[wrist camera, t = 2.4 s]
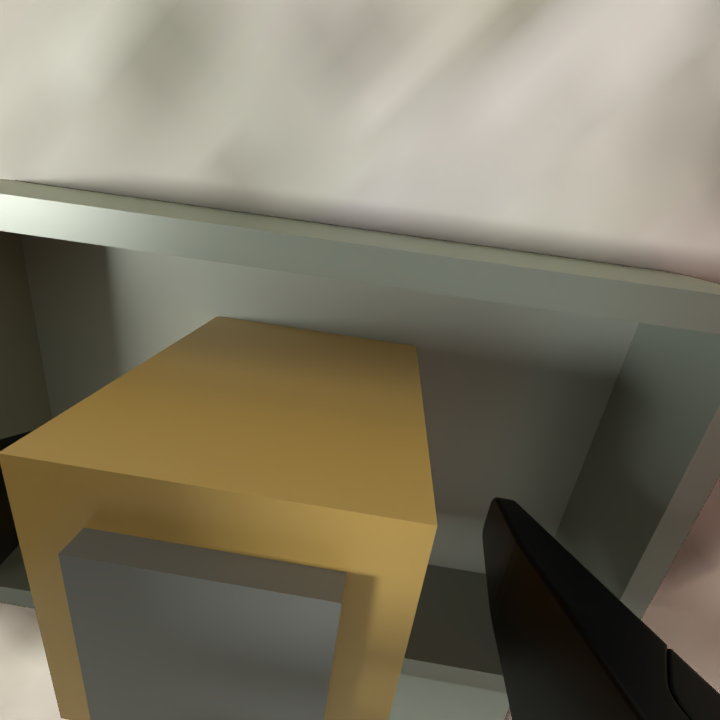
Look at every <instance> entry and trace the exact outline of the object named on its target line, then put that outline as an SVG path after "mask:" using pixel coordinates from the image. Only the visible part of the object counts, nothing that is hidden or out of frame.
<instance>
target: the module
mask: <svg viewBox="0 0 720 720" xmlns="http://www.w3.org/2000/svg"><path fill="white" fill-rule="evenodd" d="M0 465H1V469H2V473H3V477H4V482H5V486H6V490H7V494H8V498H9V502H10V507H11V511H12V515H13V519H14V523H15V528H16V532H17V536H18V540H19V544H20V548H21V553H22V557H23V561H24V565H25V569H26V574H27V578H28V582H29V586H30V590H31V594H32V599H33V603H34V607H35V611H36V615H37V620H38V624H39V628H40V632H41V636H42V640H43V645H44V649H45V653H46V657H47V661H48V665H49V670H50V674H51V678H52V682H53V686H54V691H55V695H56V699H57V703H58V707H59V711H60V716H61V718H63V719H69V720H389V716H390V712H391V708H392V704H393V700H394V696H395V692H396V688H397V684H398V680H399V676H400V672H401V668H402V664H403V660H404V656H405V652H406V648H407V645H408V641H409V637H410V633H411V629H412V625H413V621H414V617H415V613H416V609H417V605H418V601H419V597H420V593H421V589H422V585H423V581H424V577H425V573H426V569H427V565H428V561H429V557H430V554H431V550H432V546H433V542H434V538H435V534H436V530H437V526H438V525H437V517H436V509H435V500H434V492H433V484H432V475H431V467H430V459H429V450H428V442H427V433H426V425H425V417H424V408H423V400H422V392H421V383H420V375H419V367H418V358H417V350H416V346H414V345H407V344H400V343H393V342H387V341H380V340H373V339H367V338H360V337H353V336H346V335H340V334H333V333H326V332H320V331H313V330H306V329H299V328H293V327H286V326H279V325H273V324H266V323H259V322H252V321H246V320H239V319H232V318H226V317H219V316H217V317H215V318H214V319H212V320H211V321H209V322H207V323H206V324H204V325H203V326H201V327H199V328H198V329H196V330H195V331H193V332H191V333H190V334H188V335H186V336H185V337H183V338H182V339H180V340H178V341H177V342H175V343H174V344H172V345H170V346H169V347H167V348H166V349H164V350H162V351H161V352H159V353H158V354H156V355H154V356H153V357H151V358H150V359H148V360H146V361H145V362H143V363H142V364H140V365H138V366H137V367H135V368H133V369H132V370H130V371H129V372H127V373H125V374H124V375H122V376H121V377H119V378H117V379H116V380H114V381H113V382H111V383H109V384H108V385H106V386H105V387H103V388H101V389H100V390H98V391H97V392H95V393H93V394H92V395H90V396H89V397H87V398H85V399H84V400H82V401H80V402H79V403H77V404H76V405H74V406H72V407H71V408H69V409H68V410H66V411H64V412H63V413H61V414H60V415H58V416H56V417H55V418H53V419H52V420H50V421H48V422H47V423H45V424H44V425H42V426H40V427H39V428H37V429H36V430H34V431H32V432H31V433H29V434H27V435H26V436H24V437H23V438H21V439H19V440H18V441H16V442H15V443H13V444H11V445H10V446H8V447H7V448H5V449H3V450H2V451H0Z"/></svg>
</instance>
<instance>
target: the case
mask: <svg viewBox="0 0 720 720" xmlns="http://www.w3.org/2000/svg"><path fill="white" fill-rule="evenodd" d="M217 316H219V317H226V318H232V319H239V320H246V321H252V322H259V323H266V324H273V325H279V326H286V327H293V328H299V329H306V330H313V331H320V332H326V333H333V334H340V335H346V336H353V337H360V338H367V339H373V340H380V341H387V342H393V343H400V344H407V345H414V346H416V350H417V358H418V367H419V375H420V383H421V392H422V400H423V408H424V417H425V425H426V433H427V442H428V450H429V459H430V467H431V475H432V484H433V492H434V500H435V509H436V517H437V525H438V526H437V530H436V534H435V538H434V542H433V546H432V550H431V554H430V557H429V561H428V565H427V569H426V573H425V577H424V581H423V585H422V589H421V593H420V597H419V601H418V605H417V609H416V613H415V617H414V621H413V625H412V629H411V633H410V637H409V641H408V645H407V648H406V652H405V656H404V660H403V664H402V668H401V672H400V674H403V675H408V676H414V677H419V678H425V679H431V680H436V681H442V682H447V683H453V684H458V685H464V686H470V687H475V688H481V689H486V690H492V691H497V692H503V693H507V692H506V688H505V683H504V678H503V674H502V669H501V664H500V659H499V655H498V650H497V645H496V640H495V636H494V631H493V626H492V621H491V615H490V608H489V600H488V590H487V580H486V571H485V561H484V551H483V541H482V532H483V526H484V523H485V520H486V516H487V513H488V510H489V507H490V503H491V501H492V500H493V498H495V497H500V498H506V499H512V500H514V501H516V502H517V503H518V504H519V505H520V506H521V507H522V508H523V509H524V510H525V511H526V512H527V513H528V514H529V515H531V516H532V517H533V518H534V519H535V520H536V521H537V522H538V523H539V524H540V525H541V526H542V527H543V528H544V529H545V530H546V531H547V532H548V533H550V534H551V535H552V536H553V537H554V538H555V539H556V540H557V541H558V542H559V543H560V544H561V545H562V546H563V547H564V548H565V549H566V550H567V551H569V552H570V553H571V554H572V555H573V556H574V557H575V558H576V559H577V560H578V561H579V562H580V563H581V564H582V565H583V566H584V567H585V568H586V569H587V570H589V571H590V572H591V573H592V574H593V575H594V576H595V577H596V578H597V579H598V580H599V581H600V582H601V583H602V584H603V585H604V586H605V587H606V588H608V589H609V590H610V591H611V592H612V593H613V594H614V595H615V596H616V597H617V598H618V599H619V600H620V601H621V602H622V603H623V604H624V605H625V606H627V607H628V608H629V609H630V610H631V611H632V612H633V613H634V614H635V615H636V616H637V617H638V618H639V619H640V620H641V618H642V617H643V615H644V613H645V611H646V609H647V608H648V606H649V604H650V602H651V600H652V598H653V597H654V595H655V593H656V591H657V589H658V588H659V586H660V584H661V582H662V580H663V578H664V577H665V575H666V573H667V571H668V569H669V568H670V566H671V564H672V562H673V560H674V558H675V557H676V555H677V553H678V551H679V549H680V547H681V546H682V544H683V542H684V540H685V538H686V537H687V535H688V533H689V531H690V529H691V527H692V526H693V524H694V522H695V520H696V518H697V517H698V515H699V513H700V511H701V509H702V507H703V506H704V504H705V502H706V500H707V498H708V497H709V495H710V493H711V491H712V489H713V487H714V486H715V484H716V482H717V480H718V478H719V477H720V284H716V283H712V282H708V281H705V280H701V279H697V278H693V277H689V276H685V275H681V274H677V273H673V272H668V271H661V270H654V269H647V268H639V267H632V266H625V265H618V264H611V263H603V262H596V261H589V260H582V259H575V258H568V257H560V256H553V255H546V254H539V253H532V252H524V251H517V250H510V249H503V248H496V247H488V246H481V245H474V244H467V243H460V242H452V241H445V240H438V239H431V238H424V237H416V236H409V235H402V234H395V233H388V232H380V231H373V230H366V229H359V228H352V227H344V226H337V225H330V224H323V223H316V222H309V221H301V220H294V219H287V218H280V217H273V216H265V215H258V214H251V213H244V212H237V211H229V210H222V209H215V208H208V207H201V206H193V205H186V204H179V203H172V202H165V201H157V200H150V199H143V198H136V197H129V196H121V195H114V194H107V193H100V192H93V191H85V190H78V189H71V188H64V187H57V186H50V185H42V184H35V183H28V182H21V181H14V180H2V179H0V439H3V438H7V437H10V436H14V435H18V434H21V433H25V432H29V431H32V430H36V429H37V428H39V427H40V426H42V425H44V424H45V423H47V422H48V421H50V420H52V419H53V418H55V417H56V416H58V415H60V414H61V413H63V412H64V411H66V410H68V409H69V408H71V407H72V406H74V405H76V404H77V403H79V402H80V401H82V400H84V399H85V398H87V397H89V396H90V395H92V394H93V393H95V392H97V391H98V390H100V389H101V388H103V387H105V386H106V385H108V384H109V383H111V382H113V381H114V380H116V379H117V378H119V377H121V376H122V375H124V374H125V373H127V372H129V371H130V370H132V369H133V368H135V367H137V366H138V365H140V364H142V363H143V362H145V361H146V360H148V359H150V358H151V357H153V356H154V355H156V354H158V353H159V352H161V351H162V350H164V349H166V348H167V347H169V346H170V345H172V344H174V343H175V342H177V341H178V340H180V339H182V338H183V337H185V336H186V335H188V334H190V333H191V332H193V331H195V330H196V329H198V328H199V327H201V326H203V325H204V324H206V323H207V322H209V321H211V320H212V319H214V318H215V317H217ZM0 602H1V603H7V604H12V605H18V606H23V607H29V608H35V607H34V603H33V599H32V594H31V590H30V586H29V582H28V578H27V574H26V569H25V565H24V561H23V557H22V553H21V548H20V545H19V546H18V547H17V548H16V549H15V550H14V551H13V552H12V554H11V555H10V556H9V557H8V558H7V559H6V560H5V561H4V562H3V563H2V565H1V566H0Z"/></svg>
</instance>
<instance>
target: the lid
mask: <svg viewBox="0 0 720 720" xmlns="http://www.w3.org/2000/svg"><path fill="white" fill-rule="evenodd" d="M508 710H509V702H508V697H507V693H503V692H497V691H492V690H486V689H481V688H475V687H470V686H464V685H458V684H453V683H447V682H442V681H436V680H431V679H425V678H419V677H414V676H408V675H403V674H400V676H399V680H398V684H397V688H396V692H395V696H394V700H393V704H392V708H391V712H390V716H389V720H504V719H505V717H506V714H507V712H508Z"/></svg>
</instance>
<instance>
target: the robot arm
mask: <svg viewBox="0 0 720 720" xmlns="http://www.w3.org/2000/svg"><path fill="white" fill-rule="evenodd" d="M32 431H34V430H32ZM32 431H29V432H25V433H21V434H18V435H14V436H10V437H7V438H3V439H0V451H2V450H3V449H5V448H7V447H8V446H10V445H11V444H13V443H15V442H16V441H18V440H19V439H21V438H23V437H24V436H26V435H27V434H29V433H31V432H32ZM482 541H483V551H484V561H485V571H486V580H487V590H488V600H489V608H490V615H491V621H492V626H493V631H494V636H495V640H496V645H497V650H498V655H499V659H500V664H501V669H502V674H503V678H504V683H505V688H506V692H507V697H508V702H509V707H510V711H511V716H512V720H720V694H719V693H718V692H717V691H716V690H715V689H714V688H713V687H712V686H710V685H709V684H708V683H707V682H706V681H705V680H704V679H703V678H702V677H701V676H700V675H699V674H697V673H696V672H695V671H694V670H693V669H692V668H691V667H690V666H689V665H688V664H687V663H686V662H685V661H684V660H683V659H682V658H680V657H679V656H678V655H677V654H676V653H675V652H674V651H673V650H672V649H667V645H666V644H665V643H664V642H663V641H662V640H661V639H660V638H659V637H658V636H657V635H656V634H655V633H654V632H653V631H652V630H651V629H650V628H649V627H648V626H647V625H645V624H644V623H643V622H642V621H641V620H640V619H639V618H638V617H637V616H636V615H635V614H634V613H633V612H632V611H631V610H630V609H629V608H628V607H627V606H625V605H624V604H623V603H622V602H621V601H620V600H619V599H618V598H617V597H616V596H615V595H614V594H613V593H612V592H611V591H610V590H609V589H608V588H606V587H605V586H604V585H603V584H602V583H601V582H600V581H599V580H598V579H597V578H596V577H595V576H594V575H593V574H592V573H591V572H590V571H589V570H587V569H586V568H585V567H584V566H583V565H582V564H581V563H580V562H579V561H578V560H577V559H576V558H575V557H574V556H573V555H572V554H571V553H570V552H569V551H567V550H566V549H565V548H564V547H563V546H562V545H561V544H560V543H559V542H558V541H557V540H556V539H555V538H554V537H553V536H552V535H551V534H550V533H548V532H547V531H546V530H545V529H544V528H543V527H542V526H541V525H540V524H539V523H538V522H537V521H536V520H535V519H534V518H533V517H532V516H531V515H529V514H528V513H527V512H526V511H525V510H524V509H523V508H522V507H521V506H520V505H519V504H518V503H517V502H516V501H514V500H512V499H506V498H500V497H495V498H493V500H492V501H491V503H490V507H489V510H488V513H487V516H486V520H485V523H484V526H483V532H482ZM19 545H20V544H19V540H18V536H17V532H16V528H15V523H14V519H13V515H12V511H11V507H10V502H9V498H8V494H7V490H6V486H5V482H4V477H3V473H2V469H1V465H0V566H1V565H2V563H3V562H4V561H5V560H6V559H7V558H8V557H9V556H10V555H11V554H12V552H13V551H14V550H15V549H16V548H17V547H18V546H19Z"/></svg>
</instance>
